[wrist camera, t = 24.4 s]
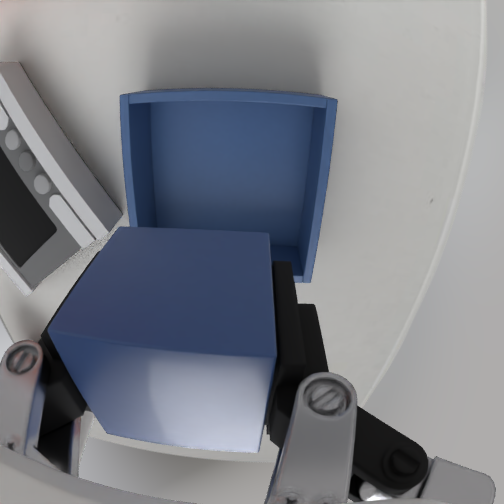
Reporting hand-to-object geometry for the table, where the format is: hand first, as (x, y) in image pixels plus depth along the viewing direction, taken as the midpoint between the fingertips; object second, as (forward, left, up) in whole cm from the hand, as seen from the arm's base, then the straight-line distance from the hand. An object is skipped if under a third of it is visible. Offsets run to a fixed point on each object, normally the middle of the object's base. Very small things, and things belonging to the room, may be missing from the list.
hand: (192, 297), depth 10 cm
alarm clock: (+20, +1, -15) cm, 25 cm away
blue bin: (0, 0, -14) cm, 14 cm away
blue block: (0, 0, 0) cm, 0 cm away
